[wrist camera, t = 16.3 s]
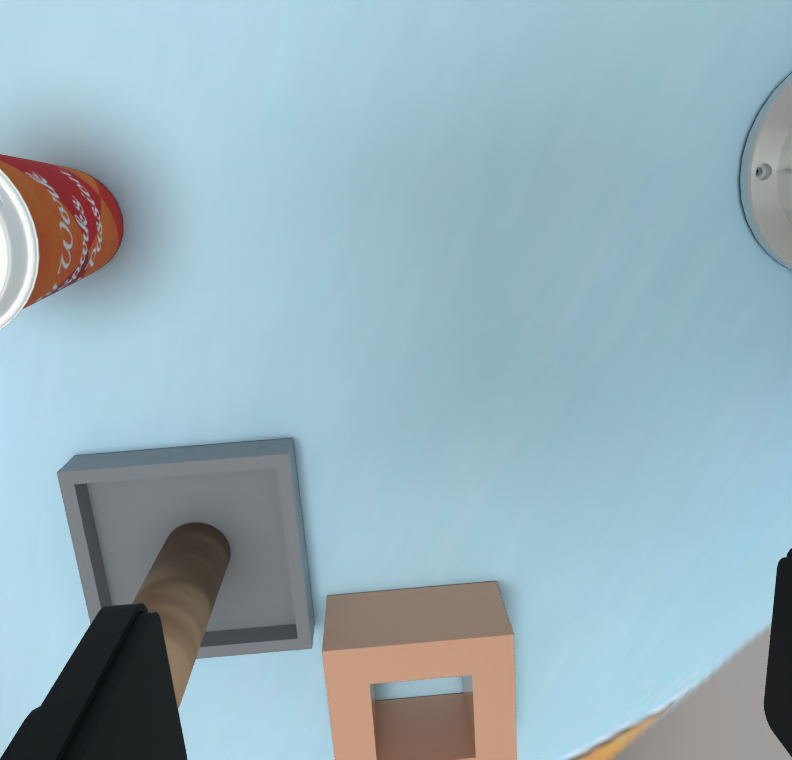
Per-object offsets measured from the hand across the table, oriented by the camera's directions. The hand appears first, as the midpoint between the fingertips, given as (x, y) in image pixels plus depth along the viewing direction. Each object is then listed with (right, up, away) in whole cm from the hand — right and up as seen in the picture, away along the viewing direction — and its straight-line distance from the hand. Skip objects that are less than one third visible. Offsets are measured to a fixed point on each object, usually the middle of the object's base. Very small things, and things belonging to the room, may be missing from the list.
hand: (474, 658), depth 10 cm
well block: (0, -15, +36) cm, 39 cm away
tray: (-13, -6, +33) cm, 36 cm away
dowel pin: (-13, -6, +32) cm, 35 cm away
